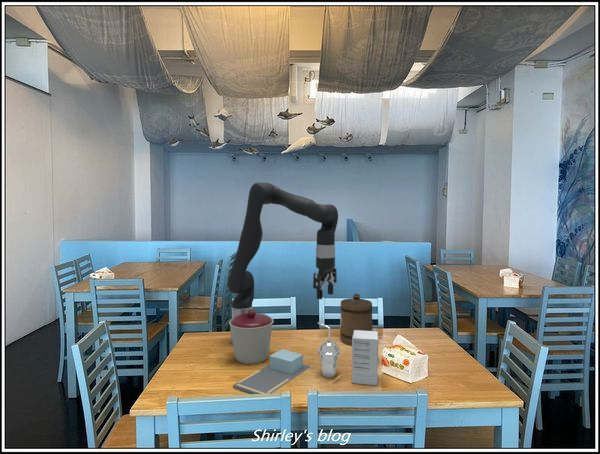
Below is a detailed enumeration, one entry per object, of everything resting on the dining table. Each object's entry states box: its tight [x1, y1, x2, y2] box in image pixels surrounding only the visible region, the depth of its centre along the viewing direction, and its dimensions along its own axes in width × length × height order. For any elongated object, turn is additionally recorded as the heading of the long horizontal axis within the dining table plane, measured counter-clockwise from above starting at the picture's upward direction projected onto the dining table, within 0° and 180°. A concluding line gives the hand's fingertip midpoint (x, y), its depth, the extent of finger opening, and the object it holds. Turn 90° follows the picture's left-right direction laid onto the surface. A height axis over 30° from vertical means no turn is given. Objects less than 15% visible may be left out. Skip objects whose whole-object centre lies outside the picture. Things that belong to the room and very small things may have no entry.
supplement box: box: [351, 330, 379, 386], centre depth 147 cm, size 10×9×17 cm
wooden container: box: [339, 293, 373, 346], centre depth 186 cm, size 15×15×22 cm
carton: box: [269, 348, 304, 374], centre depth 155 cm, size 10×8×5 cm
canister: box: [228, 309, 274, 365], centre depth 164 cm, size 18×18×21 cm
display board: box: [232, 363, 312, 395], centre depth 148 cm, size 15×28×1 cm, turn 146°
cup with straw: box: [317, 321, 341, 378], centre depth 148 cm, size 8×9×20 cm
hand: (325, 296), depth 157 cm, fingers open, 8 cm apart
